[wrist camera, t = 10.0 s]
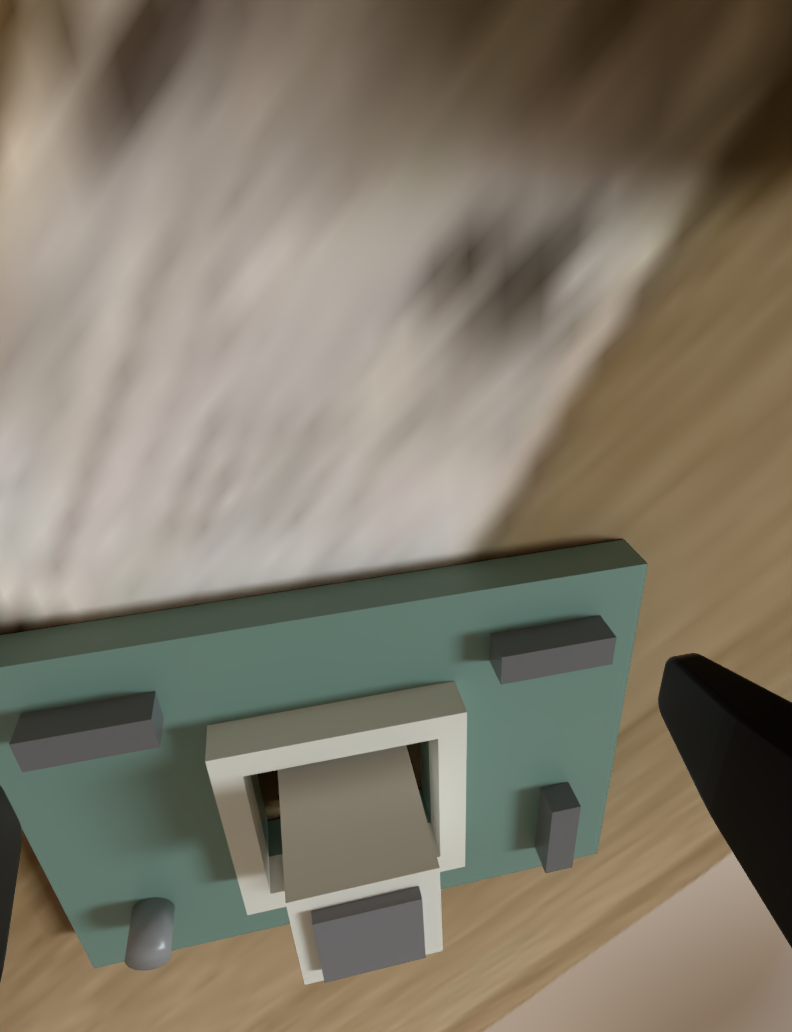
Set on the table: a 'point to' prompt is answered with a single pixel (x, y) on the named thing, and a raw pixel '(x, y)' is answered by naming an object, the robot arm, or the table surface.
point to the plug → (358, 865)
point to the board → (313, 733)
